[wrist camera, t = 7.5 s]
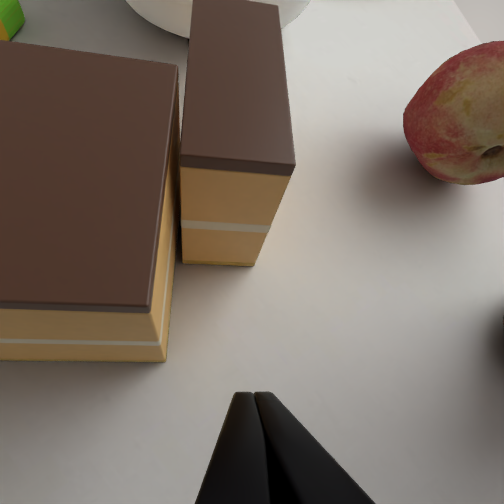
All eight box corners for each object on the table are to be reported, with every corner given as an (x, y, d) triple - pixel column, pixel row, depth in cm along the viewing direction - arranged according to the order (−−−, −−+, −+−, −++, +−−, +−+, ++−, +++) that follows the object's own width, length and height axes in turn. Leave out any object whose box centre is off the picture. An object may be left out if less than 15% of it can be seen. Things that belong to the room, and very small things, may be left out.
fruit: (368, 175, 22) (451, 61, 15) (395, 107, 26) (472, -11, 19) (479, 229, 22) (617, 136, 15) (491, 152, 26) (607, 48, 19)
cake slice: (254, 267, 18) (297, 165, 11) (181, 264, 18) (178, 154, 11) (248, 100, 24) (274, -37, 17) (193, 94, 23) (196, -52, 16)
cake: (166, 362, 15) (149, 307, 8) (-36, 360, 14) (-259, 293, 7) (181, 195, 19) (179, 63, 12) (25, 182, 18) (-77, 27, 11)
